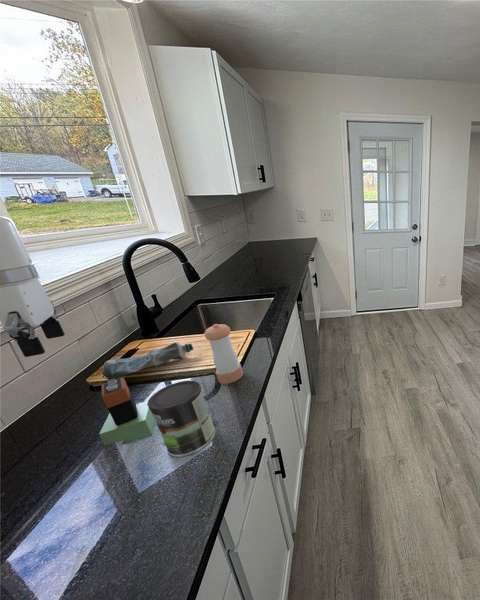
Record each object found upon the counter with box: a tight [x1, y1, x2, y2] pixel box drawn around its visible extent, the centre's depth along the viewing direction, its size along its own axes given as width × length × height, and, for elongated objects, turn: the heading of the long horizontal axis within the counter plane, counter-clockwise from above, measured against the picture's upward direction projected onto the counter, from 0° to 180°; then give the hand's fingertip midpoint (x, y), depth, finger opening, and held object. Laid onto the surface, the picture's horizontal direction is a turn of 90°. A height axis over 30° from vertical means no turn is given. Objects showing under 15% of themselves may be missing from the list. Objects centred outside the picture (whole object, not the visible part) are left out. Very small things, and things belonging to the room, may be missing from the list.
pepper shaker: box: [204, 323, 244, 385], centre depth 98 cm, size 7×7×19 cm
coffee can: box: [147, 380, 217, 458], centre depth 75 cm, size 10×10×14 cm
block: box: [98, 400, 156, 447], centre depth 81 cm, size 9×9×5 cm
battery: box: [101, 377, 138, 426], centre depth 78 cm, size 4×7×10 cm, turn 43°
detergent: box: [102, 341, 194, 381], centre depth 109 cm, size 13×7×25 cm
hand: (46, 345), depth 74 cm, fingers open, 9 cm apart
